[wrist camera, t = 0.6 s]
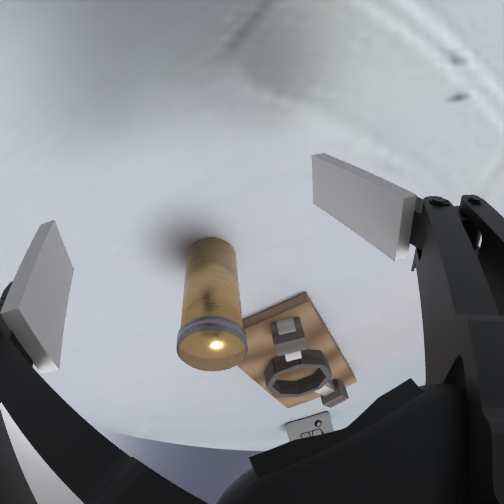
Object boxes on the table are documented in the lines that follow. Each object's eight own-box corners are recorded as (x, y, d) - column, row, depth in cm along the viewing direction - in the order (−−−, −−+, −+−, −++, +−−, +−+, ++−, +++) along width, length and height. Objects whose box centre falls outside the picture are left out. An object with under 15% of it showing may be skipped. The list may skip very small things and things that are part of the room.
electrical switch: (328, 409, 58) (338, 450, 51) (331, 415, 61) (341, 453, 54) (284, 422, 59) (292, 462, 52) (291, 427, 62) (298, 464, 56)
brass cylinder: (185, 234, 31) (174, 329, 21) (240, 237, 32) (252, 330, 22) (185, 277, 34) (178, 371, 24) (235, 279, 35) (244, 372, 25)
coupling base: (211, 333, 40) (212, 363, 36) (305, 292, 37) (315, 321, 33) (286, 401, 53) (290, 423, 49) (354, 375, 50) (361, 397, 46)
